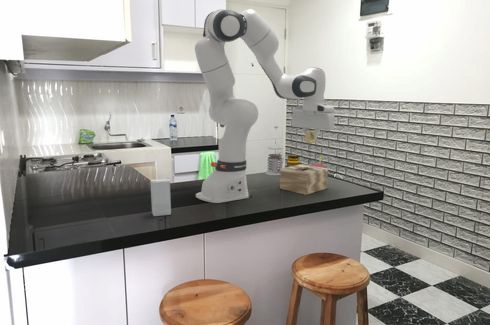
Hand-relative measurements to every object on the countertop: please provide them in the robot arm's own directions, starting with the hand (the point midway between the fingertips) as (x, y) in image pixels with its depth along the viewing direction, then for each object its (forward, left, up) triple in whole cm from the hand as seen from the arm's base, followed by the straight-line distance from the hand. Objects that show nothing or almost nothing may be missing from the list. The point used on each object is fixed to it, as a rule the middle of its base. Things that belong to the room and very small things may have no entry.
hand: (310, 138), depth 161 cm
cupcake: (+22, +10, -23) cm, 33 cm away
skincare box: (-68, +13, -23) cm, 72 cm away
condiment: (+9, +16, -23) cm, 29 cm away
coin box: (-2, +1, -22) cm, 22 cm away
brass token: (0, 0, -2) cm, 2 cm away
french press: (+12, +29, -23) cm, 39 cm away
